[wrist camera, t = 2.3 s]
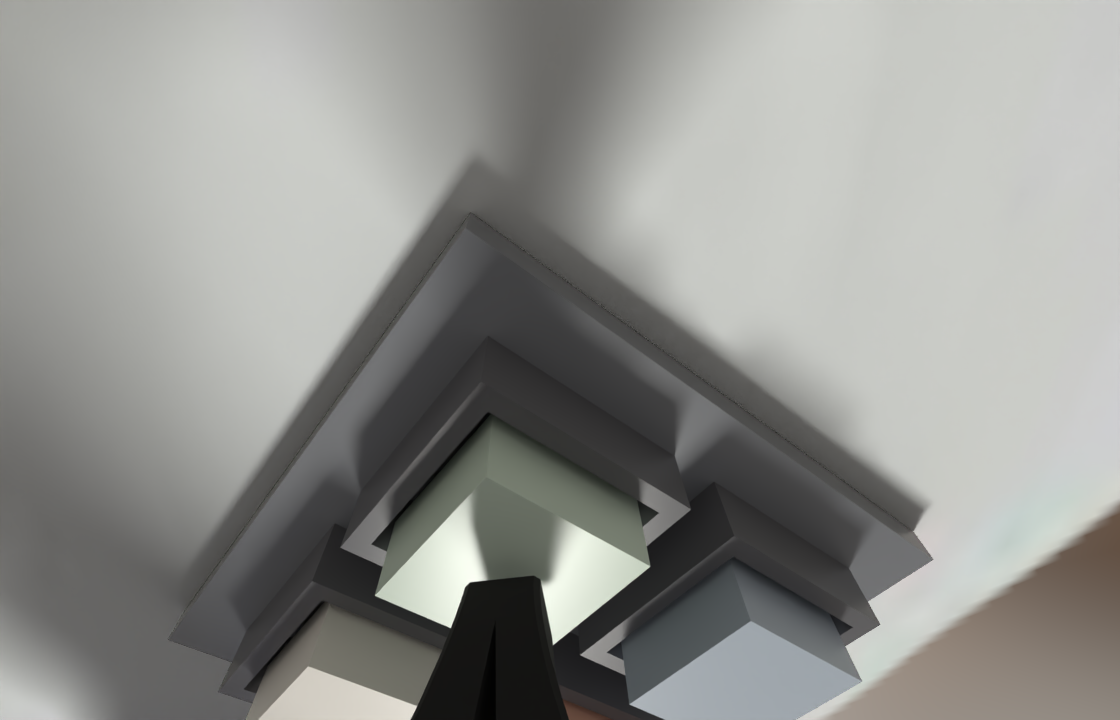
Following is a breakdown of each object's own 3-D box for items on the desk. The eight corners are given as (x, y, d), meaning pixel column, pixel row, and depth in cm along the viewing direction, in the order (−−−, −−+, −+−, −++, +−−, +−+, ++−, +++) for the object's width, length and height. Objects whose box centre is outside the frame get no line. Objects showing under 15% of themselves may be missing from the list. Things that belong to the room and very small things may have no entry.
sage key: (531, 588, 15) (531, 662, 13) (395, 522, 14) (374, 595, 12) (636, 495, 14) (650, 566, 12) (493, 411, 12) (486, 477, 10)
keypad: (579, 756, 24) (583, 840, 21) (184, 610, 18) (132, 700, 16) (914, 532, 18) (973, 615, 15) (470, 212, 12) (454, 262, 10)
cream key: (393, 711, 18) (377, 786, 16) (267, 666, 16) (235, 743, 15) (467, 645, 16) (458, 720, 15) (334, 590, 15) (308, 666, 13)
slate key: (720, 678, 17) (740, 751, 16) (619, 630, 16) (629, 704, 14) (827, 609, 16) (861, 681, 14) (725, 548, 15) (750, 620, 13)
